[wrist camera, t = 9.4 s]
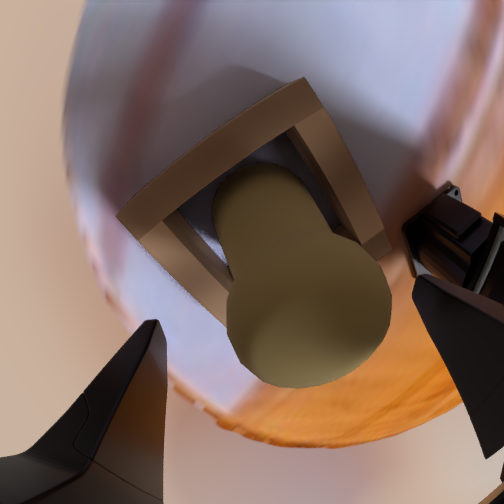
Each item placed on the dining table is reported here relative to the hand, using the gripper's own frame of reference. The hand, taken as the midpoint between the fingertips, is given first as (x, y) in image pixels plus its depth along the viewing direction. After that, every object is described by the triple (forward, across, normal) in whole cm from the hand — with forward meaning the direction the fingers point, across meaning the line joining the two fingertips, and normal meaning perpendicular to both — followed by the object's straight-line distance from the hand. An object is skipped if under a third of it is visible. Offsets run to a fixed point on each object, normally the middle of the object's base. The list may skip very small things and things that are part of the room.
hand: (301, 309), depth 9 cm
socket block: (+9, 0, 0) cm, 9 cm away
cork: (+9, 0, 0) cm, 9 cm away
